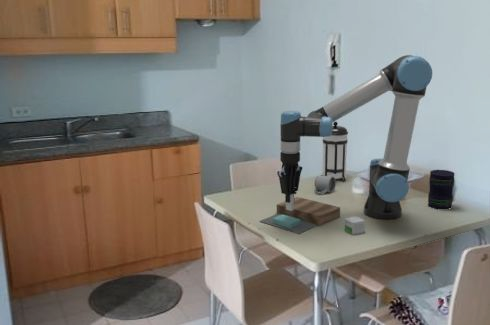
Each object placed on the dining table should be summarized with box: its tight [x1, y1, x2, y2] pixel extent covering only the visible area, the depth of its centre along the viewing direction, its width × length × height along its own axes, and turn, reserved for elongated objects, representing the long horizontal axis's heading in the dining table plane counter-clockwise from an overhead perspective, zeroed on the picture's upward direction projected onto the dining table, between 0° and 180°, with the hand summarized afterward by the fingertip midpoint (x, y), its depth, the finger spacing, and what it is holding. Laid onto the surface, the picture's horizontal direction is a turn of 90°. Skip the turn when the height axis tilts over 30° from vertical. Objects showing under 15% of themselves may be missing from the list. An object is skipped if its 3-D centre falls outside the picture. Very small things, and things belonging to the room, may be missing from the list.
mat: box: [258, 213, 319, 235], centre depth 201 cm, size 20×12×1 cm, turn 47°
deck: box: [276, 196, 341, 227], centre depth 210 cm, size 22×14×4 cm, turn 47°
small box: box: [343, 215, 366, 236], centre depth 192 cm, size 6×6×5 cm
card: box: [273, 214, 300, 228], centre depth 200 cm, size 9×6×2 cm, turn 46°
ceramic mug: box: [314, 175, 337, 196], centre depth 241 cm, size 11×8×8 cm
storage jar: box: [427, 169, 455, 210], centre depth 217 cm, size 10×10×15 cm
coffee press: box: [322, 121, 349, 183], centre depth 259 cm, size 17×16×30 cm
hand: (289, 209), depth 201 cm, fingers closed
